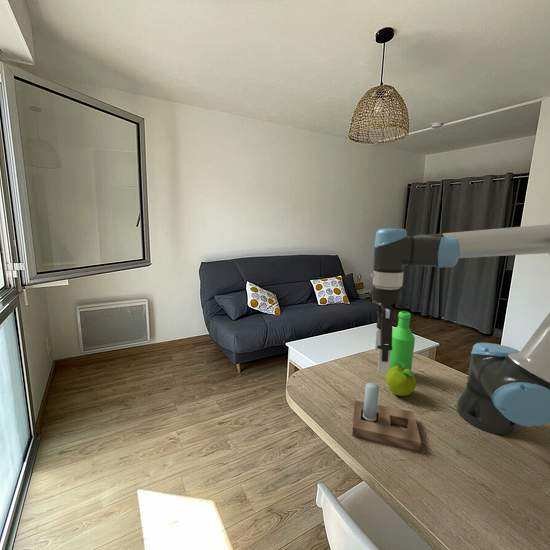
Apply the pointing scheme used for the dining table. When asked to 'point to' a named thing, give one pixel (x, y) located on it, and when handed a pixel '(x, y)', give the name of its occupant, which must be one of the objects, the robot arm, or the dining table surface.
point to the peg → (370, 402)
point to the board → (387, 426)
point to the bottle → (402, 342)
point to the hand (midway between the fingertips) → (381, 360)
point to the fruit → (401, 380)
